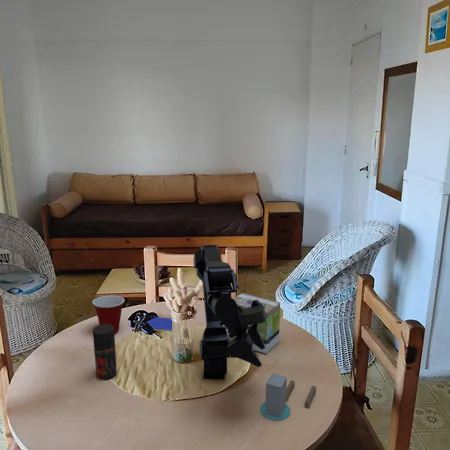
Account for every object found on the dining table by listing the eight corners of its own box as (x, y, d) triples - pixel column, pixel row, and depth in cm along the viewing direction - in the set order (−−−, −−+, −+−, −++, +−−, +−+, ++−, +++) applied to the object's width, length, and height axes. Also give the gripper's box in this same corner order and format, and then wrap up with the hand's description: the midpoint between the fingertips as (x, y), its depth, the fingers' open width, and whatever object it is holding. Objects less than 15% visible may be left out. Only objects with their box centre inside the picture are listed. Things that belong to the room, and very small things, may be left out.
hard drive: (137, 326, 163) (171, 328, 162) (144, 315, 171) (176, 318, 169) (137, 330, 163) (171, 332, 162) (144, 319, 171) (176, 321, 170)
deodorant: (120, 374, 137) (118, 328, 133) (103, 383, 132) (100, 336, 128) (109, 366, 140) (106, 322, 136) (92, 374, 136) (88, 329, 132)
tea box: (279, 341, 156) (281, 301, 152) (265, 355, 147) (267, 313, 143) (241, 329, 163) (242, 291, 159) (226, 342, 155) (226, 301, 151)
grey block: (265, 413, 120) (266, 383, 118) (271, 402, 124) (272, 373, 122) (279, 417, 118) (281, 387, 116) (285, 406, 123) (286, 376, 120)
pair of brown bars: (282, 400, 125) (282, 396, 125) (290, 384, 132) (290, 380, 132) (308, 408, 122) (309, 403, 122) (315, 391, 129) (316, 386, 129)
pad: (260, 420, 118) (260, 419, 118) (259, 400, 125) (259, 399, 125) (292, 420, 117) (292, 420, 117) (288, 400, 125) (288, 400, 125)
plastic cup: (131, 325, 166) (129, 294, 162) (117, 340, 155) (115, 308, 152) (103, 322, 168) (101, 291, 165) (88, 336, 158) (86, 304, 154)
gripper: (246, 309, 109) (285, 360, 111) (255, 282, 127) (288, 326, 129) (210, 333, 112) (248, 382, 114) (223, 303, 130) (256, 345, 132)
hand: (262, 356), depth 122 cm, fingers open, 9 cm apart
